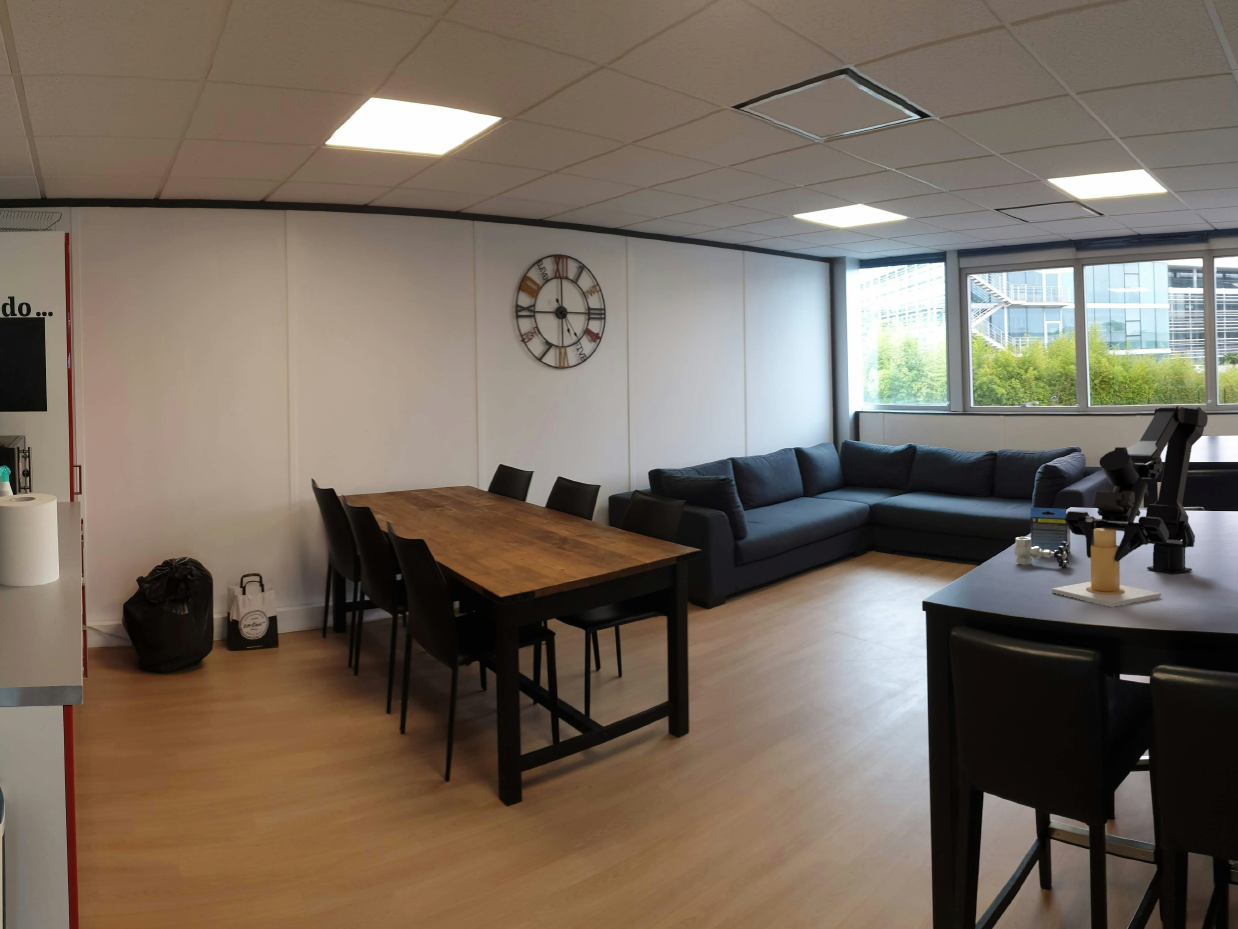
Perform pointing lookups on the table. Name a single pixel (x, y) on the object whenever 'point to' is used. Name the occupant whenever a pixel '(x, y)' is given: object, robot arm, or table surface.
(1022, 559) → the valve
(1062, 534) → the label tape cartridge
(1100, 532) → the stepped tan cylinder
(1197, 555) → the table surface
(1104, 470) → the robot arm
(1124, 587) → the plate
